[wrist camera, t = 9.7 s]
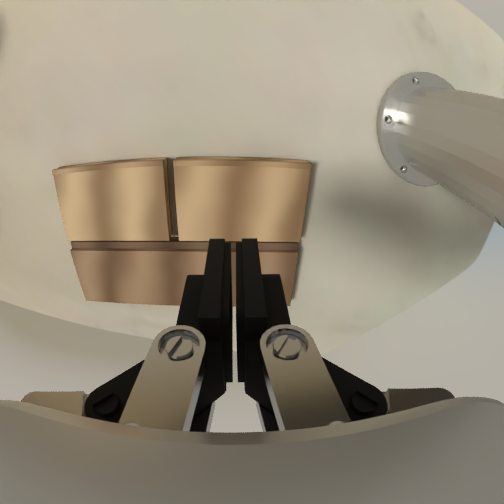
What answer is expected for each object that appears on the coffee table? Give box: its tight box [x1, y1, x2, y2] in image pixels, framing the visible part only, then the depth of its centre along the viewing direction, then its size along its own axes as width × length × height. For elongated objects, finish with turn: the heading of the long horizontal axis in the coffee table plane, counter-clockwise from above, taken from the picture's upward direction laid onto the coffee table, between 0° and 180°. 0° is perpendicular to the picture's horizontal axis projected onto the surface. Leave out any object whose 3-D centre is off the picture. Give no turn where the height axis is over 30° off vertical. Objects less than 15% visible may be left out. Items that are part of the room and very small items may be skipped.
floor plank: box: [70, 237, 299, 306], centre depth 31 cm, size 25×8×2 cm, turn 87°
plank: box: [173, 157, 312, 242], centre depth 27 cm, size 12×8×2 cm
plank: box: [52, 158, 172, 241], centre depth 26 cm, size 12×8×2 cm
